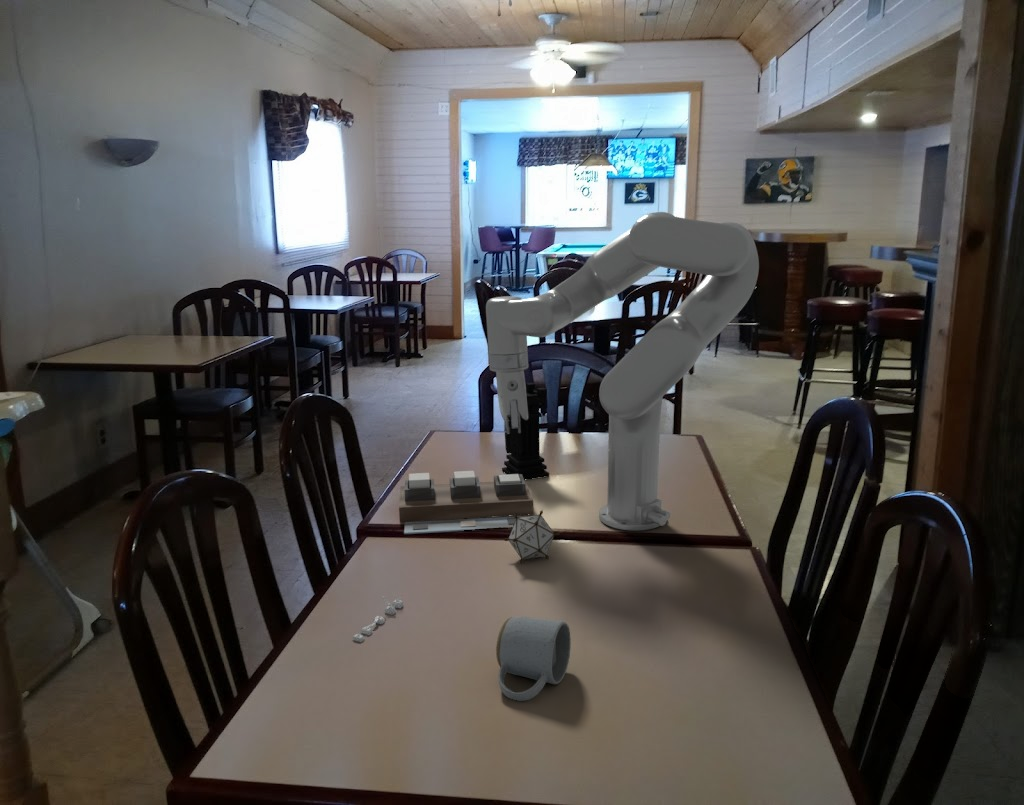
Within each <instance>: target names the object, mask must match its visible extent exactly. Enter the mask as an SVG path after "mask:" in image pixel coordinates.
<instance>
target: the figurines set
mask: <svg viewBox="0 0 1024 805" xmlns="http://www.w3.org/2000/svg"><path fill="white" fill-rule="evenodd" d="M394 597H395V600H393V601H392V603H391V602H389V601H386V597H385V596H382V597H381V599H382V600H383V601H384V603H385V606H386V608H385V609H384V614H388V615H395V614H396V613H397V612H396V611H397V610H396V608H398V609H402V608H403V607H404V601H403V600H401V599H402V598H403V593H402V592H401V596H397V595H394ZM385 622H386V621H385V618H384V617H383V616H379V615H376V616H375V617H374V618H373V622H372V623H370V624H369V625H367V626H364V627H362V628H361V630H360V634H359V633H356V634H354V635H353V636H352V641H355V642H360V643H362V642H363V641H365V636H364V635H368V636H371V635H372V633H373V629H372V628H371V627H372V626H374V628H376V627H377V626H376V625H377V624H380V625H383V624H384V623H385Z"/></svg>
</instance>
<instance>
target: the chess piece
mask: <svg viewBox="0 0 1024 805" xmlns="http://www.w3.org/2000/svg"><path fill="white" fill-rule="evenodd" d="M525 385H526V396H527V408H528V419H527V420H525V419H523V418H522V416H521V414H520V427H521V433H522V452H519V453H508V454H505V455H506V457H505V458H506V460H504V461H503V465H504V467H501V472H502V471H503V473H504V472H505V473H506V474H505V473H504V474H505V475H507V474H522V476H523V478H524V480H525V479H530V480H533V479H532V478H536V479H539V478H538V477H542V478H545V477H544V476H547V477H550V472H548V470H547V469H548V466H547V464H545V458H544V457H542V456H540V454H541V453H540V450H541V449H540V418H542V416H543V415H542V414H543V413H542V412H540V404H545V395H547V394H548V393H547V388H545V387H537V388H536V384H535V383H533V382H527V383H526V382H525ZM505 466H506V467H505Z"/></svg>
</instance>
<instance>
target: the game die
mask: <svg viewBox="0 0 1024 805" xmlns="http://www.w3.org/2000/svg"><path fill="white" fill-rule="evenodd" d="M542 515H543V509H541V511H539V514H533V515H524V516H525V517H517V515H515V514H514V516H513V517H515V518H516V520H515V523H514V525H513V528H511V529H510V530H511V531H510V532H509V536H508V537H505V538H504V539H503V541H505V542H509V543H510V545H511V546H512V547H513V549H514V550H515V552H516V553H517V555H518V556H519V558H520V560H519V564H520V565H521V564H522V563H523V561H524V560H528V559H535V558H539V557H545V559H547V560H550V557H549V555H548V551H549V549H550V546H551V545H552V543H553V540H554V538H555V536H559V535H560V533H559V532H557V531H556V532H554V531H553V529H552V527H551V526H549V524H548V522H547V521H546V520H545V518H544V516H542Z"/></svg>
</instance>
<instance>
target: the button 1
mask: <svg viewBox="0 0 1024 805" xmlns="http://www.w3.org/2000/svg"><path fill="white" fill-rule="evenodd" d="M429 479H430V472H419V473H418V472H417V473H408V480H409V489H412V488H430V480H429Z"/></svg>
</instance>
